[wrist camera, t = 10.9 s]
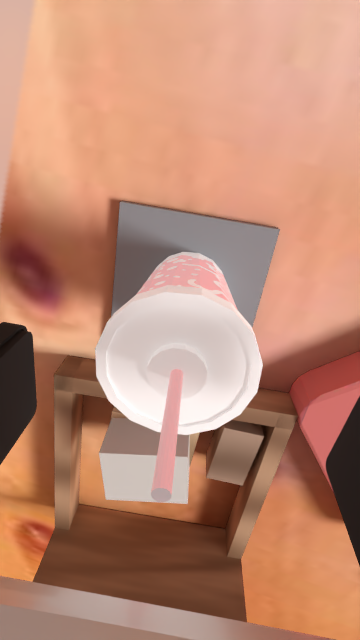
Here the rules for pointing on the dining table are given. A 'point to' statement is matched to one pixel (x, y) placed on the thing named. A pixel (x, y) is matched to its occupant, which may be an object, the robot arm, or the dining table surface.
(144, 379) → the beverage cup
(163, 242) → the coaster
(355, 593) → the dining table surface
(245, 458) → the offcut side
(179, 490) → the offcut top
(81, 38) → the dining table surface
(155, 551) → the rack
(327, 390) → the plaque
